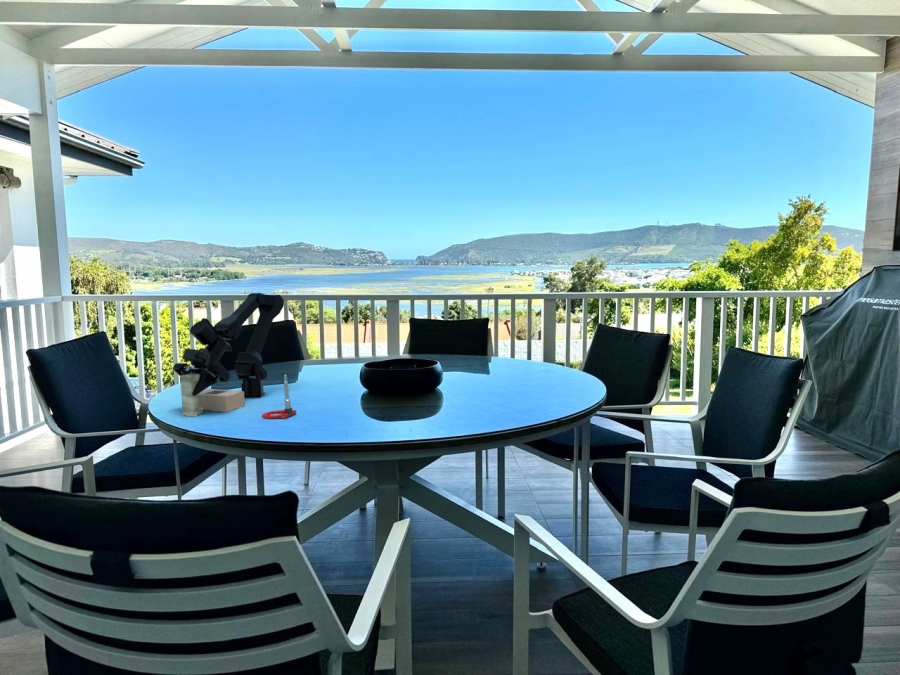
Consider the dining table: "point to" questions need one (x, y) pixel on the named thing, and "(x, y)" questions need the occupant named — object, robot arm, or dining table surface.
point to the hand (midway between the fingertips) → (187, 394)
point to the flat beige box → (222, 400)
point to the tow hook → (288, 409)
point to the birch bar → (190, 395)
